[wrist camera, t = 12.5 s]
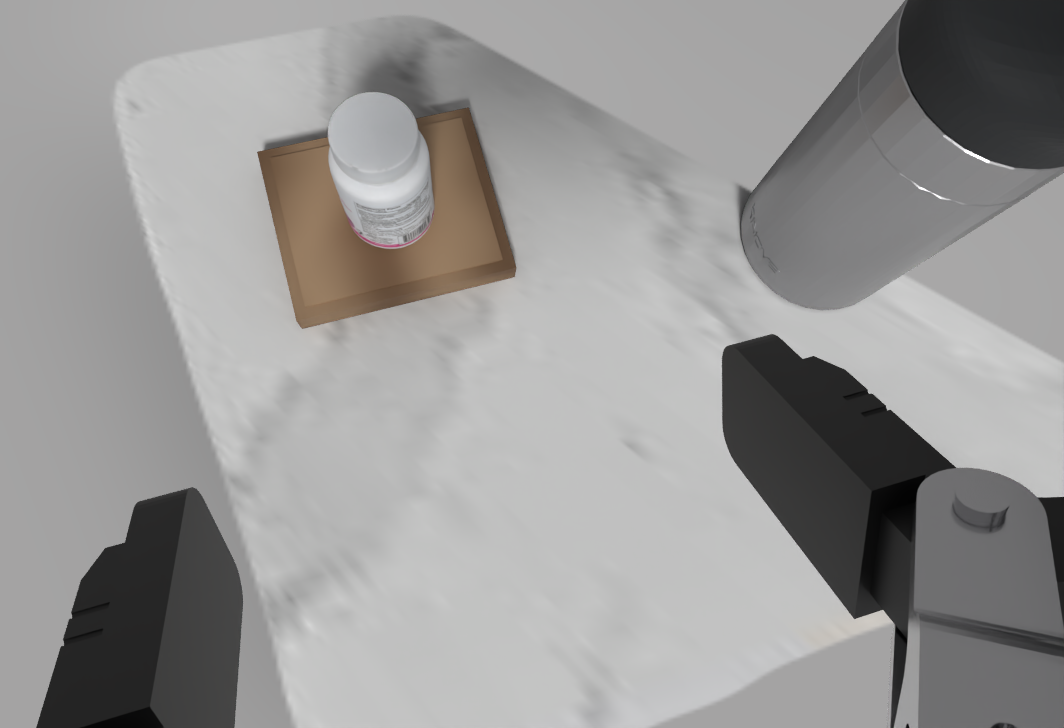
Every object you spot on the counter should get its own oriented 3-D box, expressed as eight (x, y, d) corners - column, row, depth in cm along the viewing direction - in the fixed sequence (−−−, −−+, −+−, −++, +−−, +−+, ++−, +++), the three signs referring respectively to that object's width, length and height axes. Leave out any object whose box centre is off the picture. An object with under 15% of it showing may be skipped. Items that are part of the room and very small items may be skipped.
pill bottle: (345, 172, 43) (317, 82, 35) (432, 169, 44) (425, 80, 36) (347, 253, 42) (319, 180, 34) (436, 249, 43) (429, 177, 34)
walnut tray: (468, 121, 46) (468, 106, 45) (514, 277, 44) (516, 266, 43) (263, 164, 45) (256, 150, 43) (302, 328, 43) (295, 319, 41)
